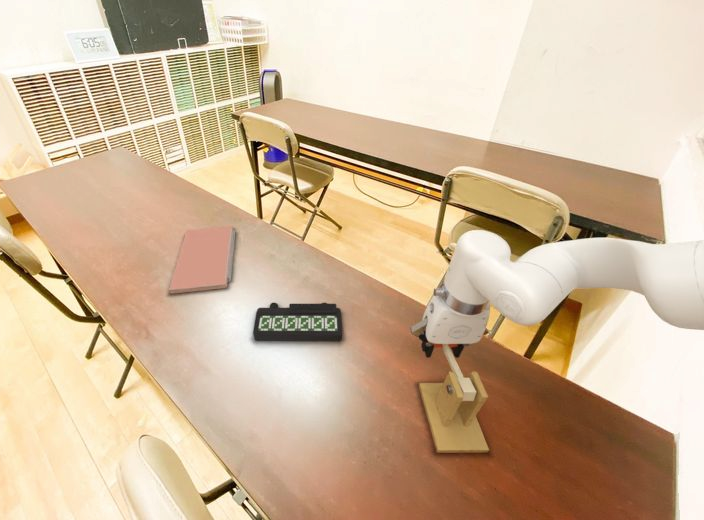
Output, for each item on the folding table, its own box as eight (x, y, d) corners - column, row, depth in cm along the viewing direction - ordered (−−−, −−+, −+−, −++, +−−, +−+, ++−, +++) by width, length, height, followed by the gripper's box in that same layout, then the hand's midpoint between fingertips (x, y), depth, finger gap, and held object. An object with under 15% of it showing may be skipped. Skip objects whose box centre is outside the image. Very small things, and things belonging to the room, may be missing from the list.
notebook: (230, 287, 91) (229, 283, 90) (170, 294, 90) (168, 289, 89) (236, 229, 113) (235, 224, 112) (187, 233, 112) (186, 229, 111)
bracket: (418, 385, 68) (430, 352, 60) (461, 385, 68) (479, 351, 60) (436, 452, 58) (454, 422, 51) (487, 452, 58) (512, 422, 50)
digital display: (339, 299, 83) (342, 334, 75) (339, 307, 85) (342, 342, 77) (258, 299, 83) (252, 334, 76) (259, 307, 85) (254, 341, 78)
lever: (429, 344, 66) (431, 336, 65) (453, 344, 66) (455, 336, 65) (452, 401, 56) (455, 392, 55) (481, 400, 56) (485, 392, 54)
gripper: (420, 312, 53) (403, 368, 64) (525, 311, 53) (489, 368, 64) (409, 278, 59) (395, 335, 70) (503, 277, 59) (473, 335, 70)
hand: (440, 350), depth 67 cm, fingers closed on lever, 5 cm apart
